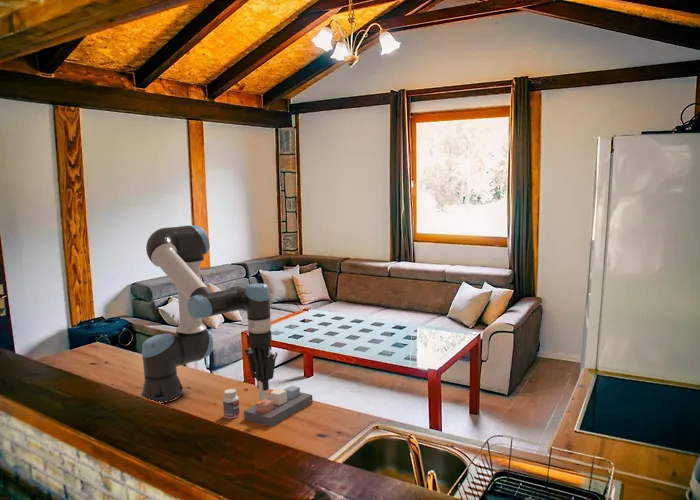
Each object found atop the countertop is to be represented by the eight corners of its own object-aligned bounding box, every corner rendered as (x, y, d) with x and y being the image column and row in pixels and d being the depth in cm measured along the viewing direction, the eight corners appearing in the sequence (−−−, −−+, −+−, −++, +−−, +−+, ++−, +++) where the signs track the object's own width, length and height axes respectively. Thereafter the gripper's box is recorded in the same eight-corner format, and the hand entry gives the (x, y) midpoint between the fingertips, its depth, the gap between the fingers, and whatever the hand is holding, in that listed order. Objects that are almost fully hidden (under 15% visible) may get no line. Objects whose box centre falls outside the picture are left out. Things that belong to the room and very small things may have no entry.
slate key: (284, 400, 187) (283, 389, 187) (291, 396, 191) (291, 385, 190) (293, 402, 185) (292, 391, 185) (300, 398, 188) (299, 387, 188)
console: (244, 419, 177) (243, 410, 176) (287, 396, 195) (286, 389, 194) (270, 426, 170) (270, 418, 170) (312, 402, 188) (312, 394, 188)
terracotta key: (256, 414, 176) (256, 403, 175) (265, 410, 179) (264, 399, 179) (265, 417, 174) (264, 405, 173) (273, 412, 177) (273, 401, 176)
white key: (270, 403, 181) (270, 392, 181) (278, 399, 185) (277, 388, 184) (279, 405, 179) (278, 394, 179) (287, 401, 182) (286, 390, 182)
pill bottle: (235, 419, 177) (234, 394, 176) (221, 418, 178) (219, 393, 177) (242, 412, 182) (240, 388, 181) (228, 412, 183) (226, 387, 182)
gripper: (237, 330, 174) (241, 398, 177) (266, 335, 166) (270, 406, 169) (253, 325, 180) (257, 391, 183) (282, 330, 173) (285, 398, 175)
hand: (263, 398), depth 176 cm, fingers closed
